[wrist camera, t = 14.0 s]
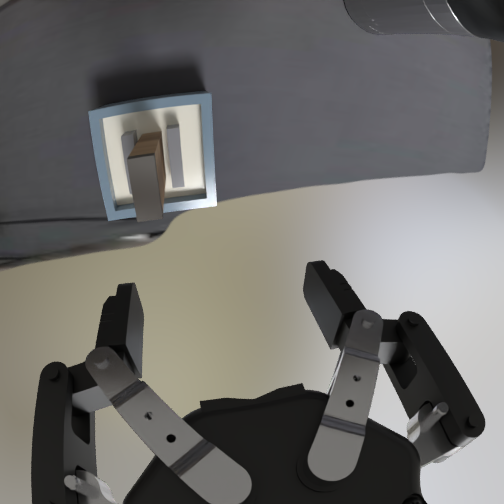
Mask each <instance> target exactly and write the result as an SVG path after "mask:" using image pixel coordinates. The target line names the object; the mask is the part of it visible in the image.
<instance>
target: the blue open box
mask: <svg viewBox="0 0 504 504" xmlns="http://www.w3.org/2000/svg"><path fill="white" fill-rule="evenodd" d="M89 120H90V128H91V135H92V142H93V148H94V154H95V160H96V165H97V171H98V176H99V181H100V186H101V191H102V195H103V200H104V204H105V209H106V213H107V217H108V221H111V220H118V219H124V218H131V217H136V212H135V207H134V202H133V196H132V190H131V184H130V178H129V172H128V165H127V158H128V156H129V155H130V153H131V151H132V150H133V148H134V146H135V145H136V143H137V142H138V140H139V138H140V137H141V135H142V134H145V133H152V132H159V131H162V140H163V151H164V161H165V170H166V185H165V196H164V208H163V213H165V212H172V211H180V210H188V209H196V208H204V207H212V206H217V199H216V183H215V165H214V146H213V123H212V97H211V93H210V92H208V91H196V92H185V93H176V94H167V95H160V96H153V97H146V98H140V99H134V100H128V101H122V102H117V103H112V104H107V105H103V106H101V107H98V108H96V109H93V110H91V111H89Z"/></svg>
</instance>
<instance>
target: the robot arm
mask: <svg viewBox="0 0 504 504" xmlns="http://www.w3.org/2000/svg"><path fill="white" fill-rule="evenodd" d="M344 2H345V6H346V9H347V11H348V13H349V15H350V16H351V18H352V19H353V20H354V22H355V23H356V24H357V25H358V26H360V27H361V28H362V29H364V30H365V31H367V32H370V33H372V34H377V35H392V34H443V35H459V36H470V37H478V38H487V39H493V40H497V41H501V42H504V0H344ZM303 292H304V297H305V300H306V302H307V304H308V306H309V307H310V310H311V312H312V314H313V316H314V317H315V319H316V321H317V323H318V325H319V327H320V329H321V331H322V333H323V335H324V337H325V339H326V341H327V343H328V345H329V347H330V349H335V348H339V349H340V351H341V353H340V355H339V358H338V361H337V365H336V368H335V371H334V374H333V377H332V380H331V383H330V385H329V388H328V391H327V393H326V394H325V393H322V392H319V391H314V390H305V389H304V386H303V384H302V383H301V384H297V385H292V386H288V387H283V388H279V389H276V390H274V391H272V392H270V393H267V394H265V395H263V396H261V397H258V398H256V399H236V398H221V399H213V400H206V401H200V405H201V408H199V409H197V410H194V411H192V412H191V413H189V414H188V415H186V416H185V417H183V418H182V419H181V418H180V417H179V416H178V415H177V414H176V413H175V412H174V411H173V410H172V409H171V408H170V407H169V406H168V405H167V404H166V403H165V402H164V401H163V400H162V399H161V398H160V397H159V396H158V395H157V394H156V393H155V392H154V391H153V390H152V389H151V388H150V387H149V386H148V385H147V384H146V383H145V382H144V381H142V382H141V381H140V380H139V379H138V378H142V348H143V326H144V314H143V309H142V305H141V301H140V298H139V295H138V291H137V288H136V285H135V283H125V284H119V285H118V288H117V293H116V296H109V297H108V299H107V300H106V302H105V303H104V305H103V309H102V315H101V319H100V324H99V330H98V335H97V340H96V346H95V349H94V350H92V351H91V352H90V353H89V354H88V355H87V357H86V360H85V362H83V363H80V364H78V365H74V366H72V367H68V368H67V367H66V365H65V364H63V363H61V362H52V363H50V364H48V365H46V366H45V367H44V369H43V370H42V372H41V375H40V380H39V386H38V393H37V400H36V408H35V416H34V427H33V439H32V440H33V441H32V461H31V487H32V504H118V503H117V502H116V501H115V499H114V497H113V495H112V492H111V489H110V487H109V486H108V484H106V483H105V482H104V481H103V480H101V479H99V478H98V477H97V467H96V449H95V411H96V410H99V409H102V408H105V407H108V406H110V405H113V406H114V408H115V409H116V410H117V411H118V413H119V414H120V415H121V416H122V418H123V419H124V420H125V421H126V422H127V423H128V425H129V426H130V427H131V428H132V429H133V431H134V432H135V433H136V434H137V435H138V436H139V437H140V439H141V440H142V441H143V442H144V443H145V444H146V445H147V446H148V447H149V448H150V450H152V452H153V453H154V454H155V456H154V458H153V459H152V461H151V462H150V463H149V465H148V466H147V468H146V469H145V470H144V472H143V473H142V475H141V476H140V477H139V479H138V480H137V482H136V483H135V484H134V486H133V487H132V489H131V490H130V491H129V493H128V494H127V496H126V497H125V499H124V501H123V504H427V503H426V501H425V500H424V498H423V496H422V493H421V488H420V469H421V468H422V467H424V466H426V465H428V464H430V463H432V462H433V463H439V462H442V461H444V460H446V459H447V458H448V457H450V456H452V455H453V454H455V453H456V452H457V451H459V450H460V449H462V448H463V447H465V446H466V445H467V444H469V443H470V442H471V441H473V440H474V439H476V438H477V437H478V436H479V435H480V434H482V432H483V431H484V428H485V418H484V416H483V414H482V412H481V410H480V408H479V406H478V404H477V403H476V401H475V399H474V397H473V396H472V394H471V392H470V390H469V389H468V387H467V385H466V383H465V382H464V380H463V378H462V377H461V375H460V373H459V372H458V370H457V368H456V367H455V366H454V364H453V362H452V360H451V359H450V357H449V356H448V354H447V353H446V351H445V350H444V348H443V346H442V345H441V343H440V342H439V340H438V339H437V338H436V336H435V334H434V333H433V331H432V330H431V328H430V327H429V325H428V324H427V322H426V321H425V320H424V318H423V317H422V316H420V315H419V314H417V313H415V312H412V311H407V312H403V313H402V314H401V315H400V317H399V319H398V320H389V319H388V320H387V319H382V318H381V316H380V315H379V314H378V313H376V312H374V311H372V310H367V309H366V308H365V307H364V305H363V304H362V302H361V301H360V299H359V298H358V296H357V295H356V294H355V292H354V291H353V290H352V288H351V286H350V285H349V284H348V282H347V281H346V279H345V278H344V276H343V275H342V274H340V273H339V272H338V271H336V270H335V269H332V270H330V269H329V267H328V266H327V264H326V263H325V261H323V260H321V261H314V262H308V263H307V266H306V273H305V279H304V286H303ZM410 355H411V356H410ZM414 362H415V363H414ZM379 364H383V366H384V368H385V370H386V372H387V374H388V376H389V378H390V380H391V382H392V384H393V386H394V388H395V390H396V392H397V394H398V396H399V398H400V400H401V402H402V405H403V407H404V409H405V411H406V413H407V415H408V417H409V419H410V420H409V422H408V424H407V433H408V434H407V438H408V439H407V438H405V437H403V436H401V435H400V434H398V433H395V432H394V431H392V430H390V429H388V428H386V427H384V426H383V425H381V424H379V423H377V422H375V421H373V420H372V419H370V418H368V415H369V410H370V407H371V402H372V398H373V394H374V389H375V385H376V380H377V375H378V370H379Z"/></svg>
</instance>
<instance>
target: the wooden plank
mask: <svg viewBox="0 0 504 504" xmlns="http://www.w3.org/2000/svg"><path fill="white" fill-rule="evenodd" d="M127 165H128V172H129V178H130V184H131V190H132V196H133V202H134V207H135V212H136V217H137V222H142V221H149V220H157V219H163V208H164V196H165V185H166V170H165V161H164V151H163V140H162V131H159V132H152V133H145V134H142V135H141V137H140V138H139V140H138V142H137V143H136V145H135V146H134V148H133V150H132V151H131V153H130V155H129V156H128V158H127Z"/></svg>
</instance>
